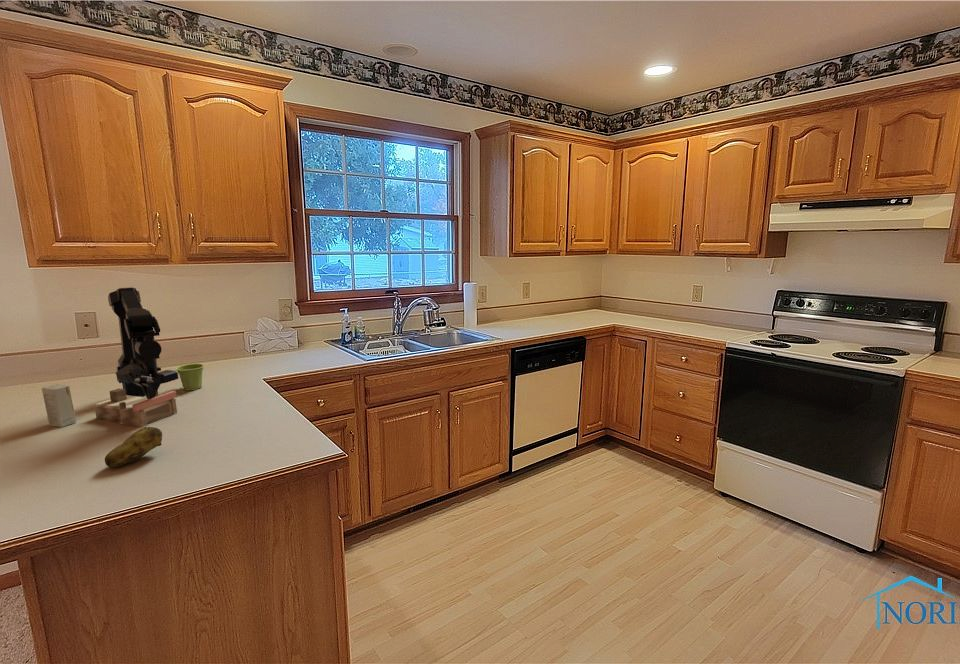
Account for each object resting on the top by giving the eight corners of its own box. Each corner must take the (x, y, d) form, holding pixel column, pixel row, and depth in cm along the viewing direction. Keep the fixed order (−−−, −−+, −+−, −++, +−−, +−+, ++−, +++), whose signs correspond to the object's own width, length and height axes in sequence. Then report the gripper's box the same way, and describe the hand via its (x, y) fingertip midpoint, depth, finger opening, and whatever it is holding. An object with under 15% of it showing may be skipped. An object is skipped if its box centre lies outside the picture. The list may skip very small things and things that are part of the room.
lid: (96, 406, 153) (94, 393, 152) (124, 397, 161) (122, 385, 161) (143, 412, 148) (141, 398, 147) (169, 403, 156) (168, 389, 155)
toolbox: (92, 420, 152) (89, 399, 151) (129, 407, 164) (127, 387, 162) (142, 426, 147) (139, 405, 145) (177, 413, 158) (174, 393, 157)
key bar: (133, 411, 145) (132, 404, 145) (173, 396, 159) (172, 390, 158) (136, 411, 145) (136, 405, 145) (176, 397, 158) (176, 391, 158)
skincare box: (77, 422, 150) (70, 385, 148) (61, 427, 146) (54, 389, 144) (63, 420, 152) (57, 383, 150) (47, 425, 148) (40, 387, 146)
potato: (104, 462, 124) (99, 433, 122) (162, 448, 132) (158, 420, 130) (106, 473, 117) (102, 443, 116) (168, 458, 126) (164, 429, 124)
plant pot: (181, 393, 178) (178, 371, 177) (176, 387, 185) (173, 366, 184) (209, 388, 184) (206, 367, 183) (203, 383, 191) (201, 362, 190)
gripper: (95, 357, 144) (103, 406, 147) (143, 361, 139) (150, 412, 142) (131, 349, 154) (137, 395, 157) (176, 353, 149) (182, 400, 152)
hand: (151, 400), depth 152 cm, fingers closed
